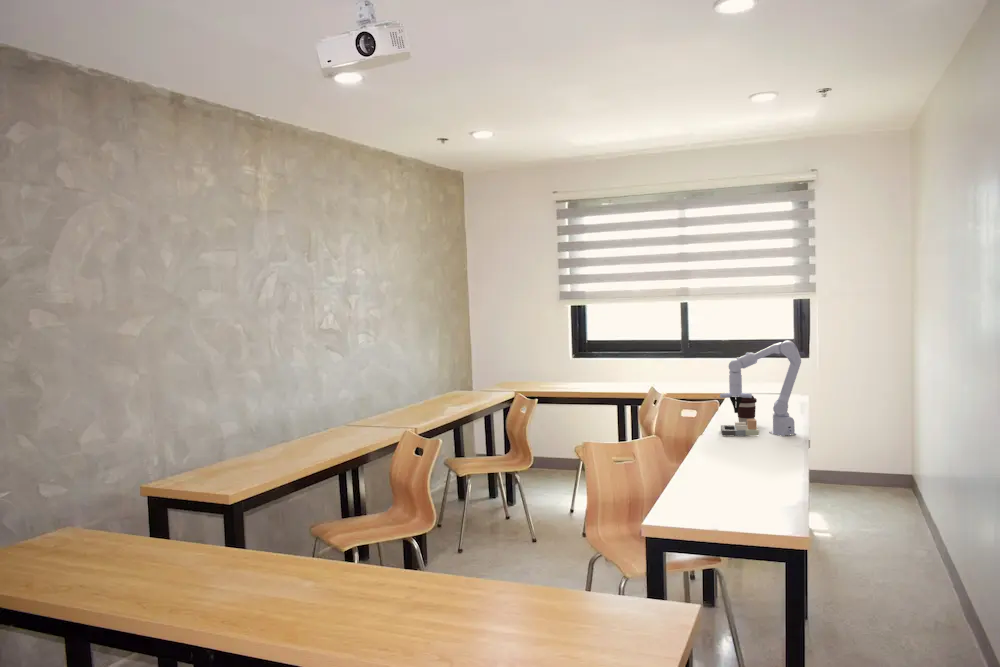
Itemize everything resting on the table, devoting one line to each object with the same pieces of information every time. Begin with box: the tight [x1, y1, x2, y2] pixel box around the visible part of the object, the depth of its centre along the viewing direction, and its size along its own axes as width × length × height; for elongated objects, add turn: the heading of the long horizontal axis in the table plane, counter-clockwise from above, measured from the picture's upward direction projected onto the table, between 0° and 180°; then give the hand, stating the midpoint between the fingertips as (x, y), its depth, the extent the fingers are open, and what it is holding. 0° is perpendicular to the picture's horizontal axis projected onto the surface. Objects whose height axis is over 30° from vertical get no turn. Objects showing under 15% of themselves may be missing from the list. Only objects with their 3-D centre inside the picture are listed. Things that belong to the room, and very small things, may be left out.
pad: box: [745, 427, 760, 435], centre depth 351 cm, size 6×11×2 cm, turn 166°
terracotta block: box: [747, 418, 758, 429], centre depth 351 cm, size 4×5×4 cm
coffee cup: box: [737, 395, 758, 425], centre depth 370 cm, size 10×10×15 cm
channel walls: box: [734, 421, 747, 430], centre depth 352 cm, size 5×9×2 cm, turn 166°
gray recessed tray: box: [720, 424, 747, 437], centre depth 353 cm, size 10×13×2 cm
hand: (736, 412), depth 355 cm, fingers closed
